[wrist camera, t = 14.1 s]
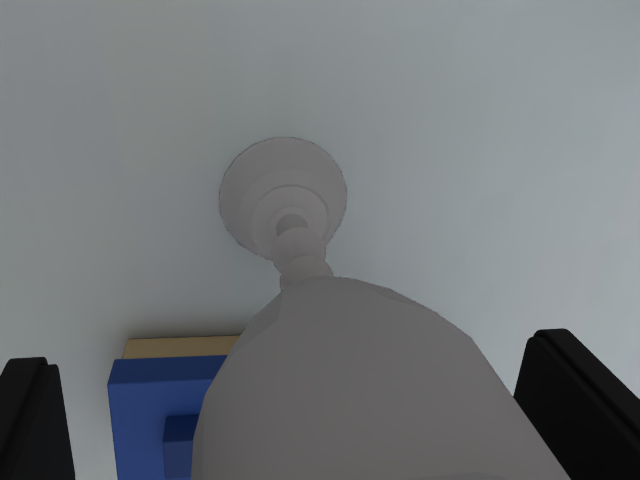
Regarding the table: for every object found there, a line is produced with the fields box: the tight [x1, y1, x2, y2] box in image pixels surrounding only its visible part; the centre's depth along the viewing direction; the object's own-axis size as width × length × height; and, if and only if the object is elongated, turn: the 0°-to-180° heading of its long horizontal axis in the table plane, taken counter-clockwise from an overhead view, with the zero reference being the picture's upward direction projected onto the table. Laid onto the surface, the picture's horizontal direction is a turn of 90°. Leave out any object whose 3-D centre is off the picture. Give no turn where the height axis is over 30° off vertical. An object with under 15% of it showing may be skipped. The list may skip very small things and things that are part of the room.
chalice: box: [191, 138, 571, 480], centre depth 15 cm, size 7×7×18 cm
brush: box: [107, 335, 241, 480], centre depth 24 cm, size 13×5×5 cm, turn 87°
